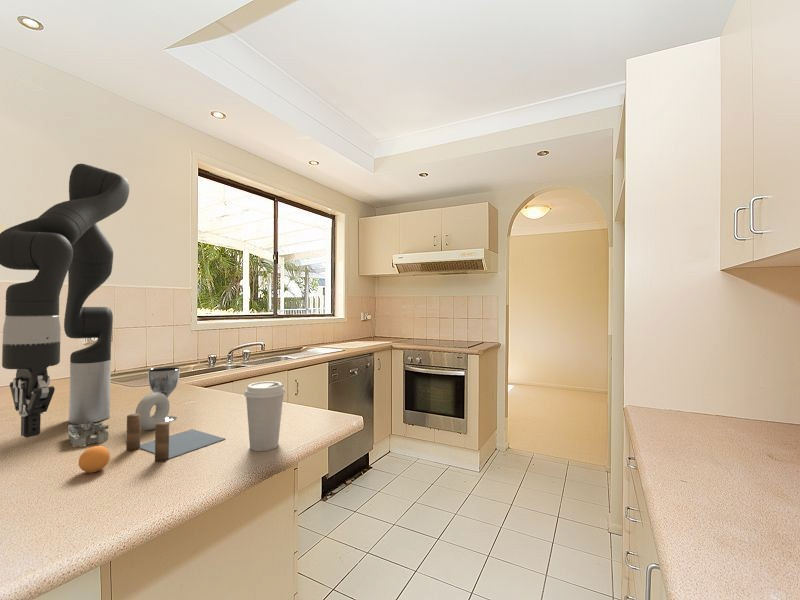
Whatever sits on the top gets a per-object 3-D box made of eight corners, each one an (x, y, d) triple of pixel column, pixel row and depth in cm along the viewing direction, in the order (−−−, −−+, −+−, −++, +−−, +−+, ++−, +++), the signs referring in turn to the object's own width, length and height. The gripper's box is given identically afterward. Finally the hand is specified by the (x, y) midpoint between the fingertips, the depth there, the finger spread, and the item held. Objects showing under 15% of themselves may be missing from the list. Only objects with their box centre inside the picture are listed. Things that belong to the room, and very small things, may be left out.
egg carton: (109, 442, 92) (110, 426, 92) (69, 450, 87) (70, 433, 87) (104, 431, 100) (104, 416, 100) (67, 438, 95) (67, 422, 95)
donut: (142, 435, 97) (143, 397, 97) (131, 434, 97) (131, 396, 97) (172, 423, 106) (173, 388, 107) (162, 422, 107) (162, 388, 107)
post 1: (124, 449, 87) (124, 415, 87) (136, 446, 90) (136, 412, 90) (129, 451, 86) (130, 417, 86) (142, 448, 88) (142, 414, 88)
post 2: (152, 460, 81) (152, 424, 81) (164, 456, 84) (165, 421, 84) (158, 463, 80) (159, 426, 80) (171, 459, 82) (171, 423, 82)
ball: (73, 473, 75) (74, 448, 75) (102, 464, 79) (103, 440, 80) (85, 479, 73) (85, 453, 73) (114, 469, 77) (115, 445, 77)
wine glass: (140, 421, 108) (141, 370, 108) (166, 414, 115) (167, 366, 115) (159, 425, 105) (160, 372, 105) (184, 417, 112) (185, 367, 112)
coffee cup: (260, 457, 84) (261, 391, 84) (234, 448, 89) (235, 385, 89) (292, 444, 92) (293, 383, 92) (267, 436, 97) (268, 379, 97)
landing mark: (135, 446, 89) (135, 445, 89) (192, 429, 101) (192, 429, 101) (168, 459, 82) (168, 458, 82) (225, 439, 95) (225, 438, 95)
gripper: (74, 340, 68) (72, 435, 68) (44, 337, 74) (42, 424, 74) (17, 344, 61) (15, 449, 61) (-10, 340, 68) (-12, 435, 67)
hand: (30, 435), depth 67 cm, fingers closed
